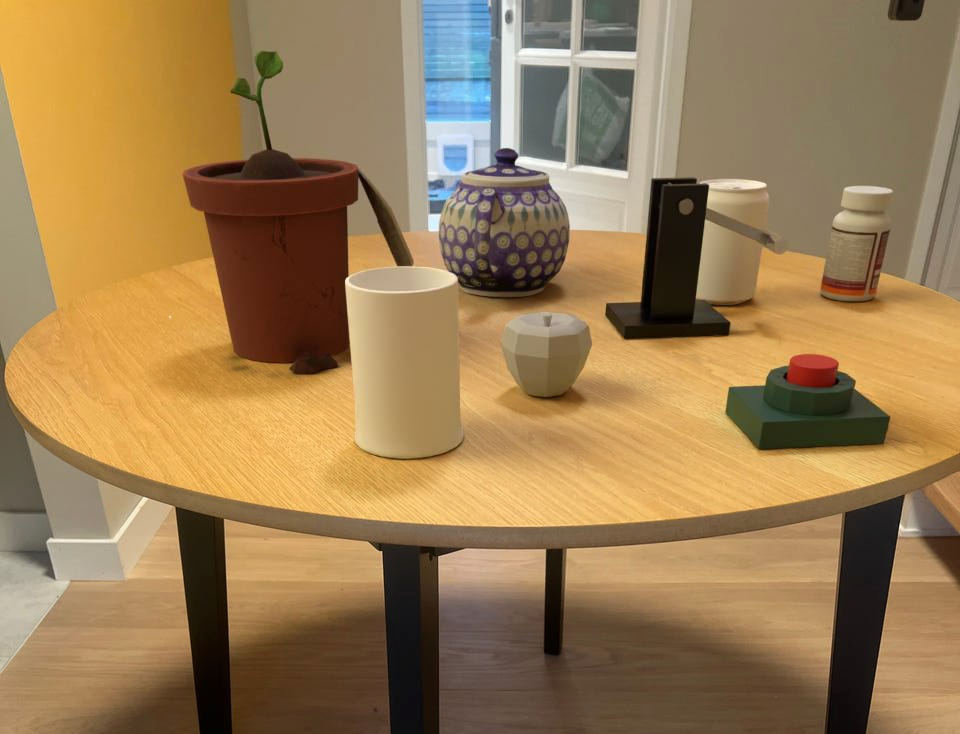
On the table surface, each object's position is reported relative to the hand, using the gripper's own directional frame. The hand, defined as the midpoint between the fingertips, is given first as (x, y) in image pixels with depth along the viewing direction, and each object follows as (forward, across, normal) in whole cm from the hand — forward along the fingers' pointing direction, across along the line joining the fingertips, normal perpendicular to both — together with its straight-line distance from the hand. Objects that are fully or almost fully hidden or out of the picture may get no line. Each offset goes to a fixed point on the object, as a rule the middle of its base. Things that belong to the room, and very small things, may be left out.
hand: (903, 20), depth 77 cm
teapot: (+27, +29, +29) cm, 49 cm away
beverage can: (+27, +21, +5) cm, 35 cm away
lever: (+18, +11, +10) cm, 23 cm away
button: (+23, -19, +11) cm, 32 cm away
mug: (+27, -16, +42) cm, 53 cm away
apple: (+27, -8, +30) cm, 41 cm away
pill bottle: (+27, +20, -10) cm, 35 cm away
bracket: (+27, +11, +14) cm, 32 cm away
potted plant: (+27, +8, +50) cm, 57 cm away
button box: (+27, -19, +11) cm, 35 cm away
